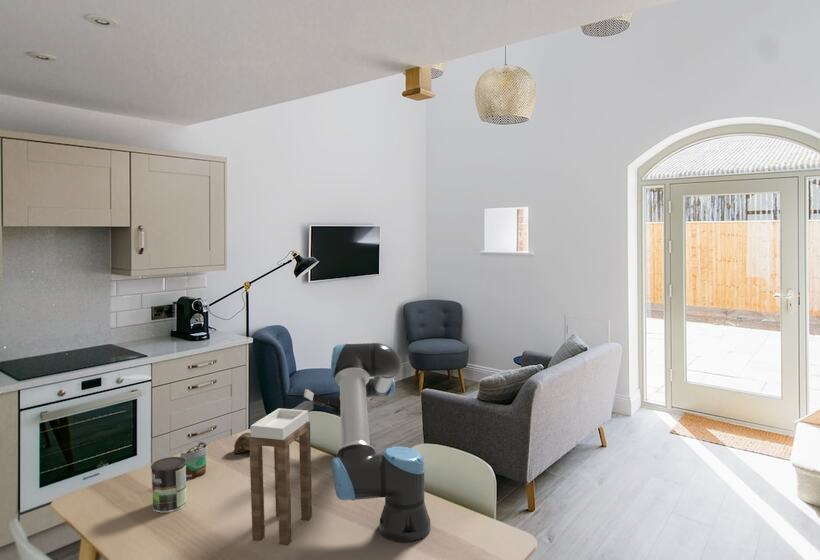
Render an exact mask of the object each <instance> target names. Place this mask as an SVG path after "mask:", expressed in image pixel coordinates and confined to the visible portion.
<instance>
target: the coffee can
mask: <svg viewBox="0 0 820 560" xmlns="http://www.w3.org/2000/svg"><path fill="white" fill-rule="evenodd" d="M150 469H151V488H152V491H151V492H152V510H153V512H155V511H156V512H155V513H158V512H160V513H159V514H169V513H173V512H174V513H175V512H177V511H179V510H181V509H183V508H185V506H186V505H187V504H188V497H187V492H188V491H187V479H186V459H184V458H182V457H180V456H169V457H163V458H161V459H158V460H156V461H154V462H153V463H152V464H151V465H150Z"/></svg>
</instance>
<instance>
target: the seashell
mask: <svg viewBox="0 0 820 560" xmlns="http://www.w3.org/2000/svg"><path fill="white" fill-rule="evenodd" d="M249 437H251V432H248V431H247V432H245V433H243V434H241V435H240V436H239V437H238V438H237V439H236V440H235V442H234V447H233V449H234V450H233V453H235V454H239V453H243V452H244V453H245V452H247V451H250V446H249Z"/></svg>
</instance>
